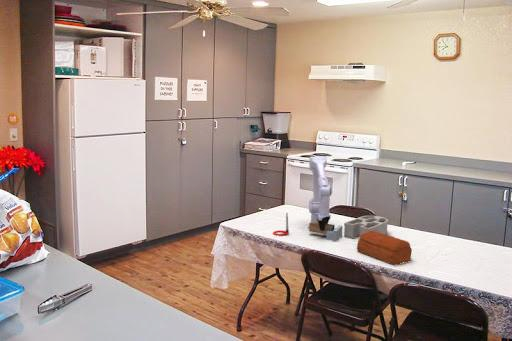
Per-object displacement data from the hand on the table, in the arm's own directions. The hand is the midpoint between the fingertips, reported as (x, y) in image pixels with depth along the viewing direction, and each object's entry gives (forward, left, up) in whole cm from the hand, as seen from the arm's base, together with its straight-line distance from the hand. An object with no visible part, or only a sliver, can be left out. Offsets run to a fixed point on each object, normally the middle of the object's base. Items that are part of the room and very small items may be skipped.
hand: (323, 229), depth 281 cm
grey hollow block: (-16, +22, -4) cm, 28 cm away
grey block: (0, +8, -4) cm, 9 cm away
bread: (+16, +38, -4) cm, 42 cm away
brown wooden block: (0, -1, -2) cm, 2 cm away
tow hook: (+8, -23, -4) cm, 25 cm away
